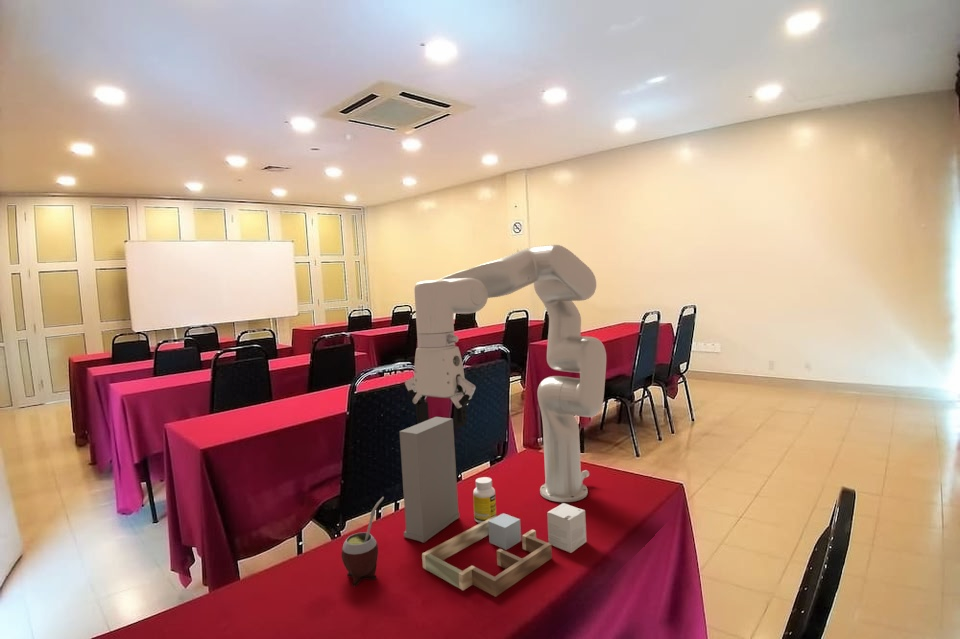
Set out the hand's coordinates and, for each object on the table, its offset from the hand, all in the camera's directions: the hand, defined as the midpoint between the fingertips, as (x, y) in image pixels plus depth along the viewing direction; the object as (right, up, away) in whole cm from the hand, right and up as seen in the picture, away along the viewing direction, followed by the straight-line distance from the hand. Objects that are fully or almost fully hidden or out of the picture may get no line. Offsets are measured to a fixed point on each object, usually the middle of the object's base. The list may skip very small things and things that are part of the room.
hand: (441, 423), depth 105 cm
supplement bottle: (+9, -28, +19) cm, 35 cm away
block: (+14, -28, +8) cm, 32 cm away
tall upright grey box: (-3, -28, +16) cm, 33 cm away
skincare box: (+27, -28, +6) cm, 39 cm away
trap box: (+10, -28, 0) cm, 30 cm away
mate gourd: (-15, -30, -3) cm, 34 cm away
